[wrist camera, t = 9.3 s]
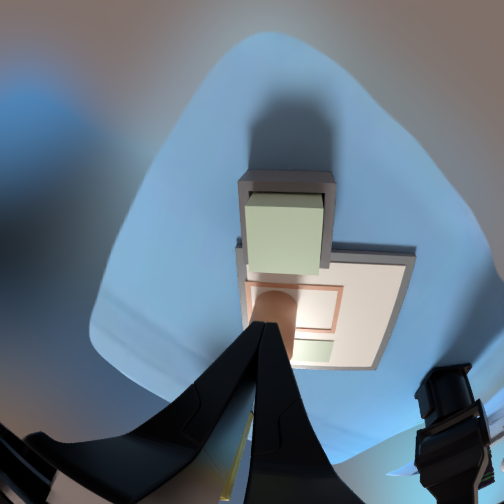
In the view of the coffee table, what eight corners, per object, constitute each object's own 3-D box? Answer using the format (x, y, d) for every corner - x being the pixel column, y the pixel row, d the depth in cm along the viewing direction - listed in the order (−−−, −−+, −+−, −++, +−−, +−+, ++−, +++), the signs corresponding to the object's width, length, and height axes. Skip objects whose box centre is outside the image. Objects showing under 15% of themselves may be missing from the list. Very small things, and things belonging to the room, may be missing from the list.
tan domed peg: (298, 291, 21) (292, 349, 16) (296, 324, 23) (290, 380, 18) (253, 288, 22) (236, 344, 17) (255, 320, 24) (241, 375, 19)
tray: (414, 253, 18) (417, 258, 18) (375, 366, 25) (376, 371, 25) (236, 244, 21) (234, 249, 20) (247, 360, 28) (246, 365, 27)
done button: (320, 188, 16) (323, 208, 13) (317, 246, 18) (318, 275, 15) (256, 187, 17) (244, 206, 14) (258, 243, 19) (249, 271, 16)
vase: (223, 397, 34) (194, 489, 21) (261, 413, 34) (241, 501, 22) (207, 410, 37) (180, 488, 24) (242, 423, 37) (221, 501, 25)
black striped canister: (459, 459, 45) (463, 496, 32) (465, 452, 41) (469, 493, 28) (485, 448, 41) (490, 484, 28) (492, 439, 37) (499, 479, 25)
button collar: (331, 171, 17) (336, 183, 14) (326, 246, 20) (329, 268, 17) (247, 169, 18) (237, 181, 15) (252, 243, 21) (243, 264, 18)
